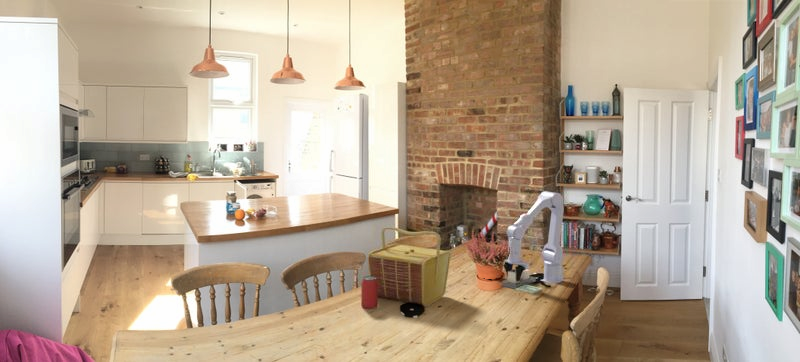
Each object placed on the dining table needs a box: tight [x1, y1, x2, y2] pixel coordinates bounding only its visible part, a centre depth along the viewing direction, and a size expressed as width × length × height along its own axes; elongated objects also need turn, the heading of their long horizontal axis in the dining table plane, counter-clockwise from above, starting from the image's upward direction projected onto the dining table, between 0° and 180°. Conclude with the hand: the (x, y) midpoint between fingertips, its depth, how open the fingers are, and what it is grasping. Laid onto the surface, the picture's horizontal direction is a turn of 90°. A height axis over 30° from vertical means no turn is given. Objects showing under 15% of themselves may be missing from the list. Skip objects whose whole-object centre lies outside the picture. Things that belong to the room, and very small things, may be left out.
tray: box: [515, 284, 543, 295], centre depth 239 cm, size 8×8×1 cm
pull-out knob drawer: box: [521, 268, 531, 280], centre depth 251 cm, size 4×4×7 cm
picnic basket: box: [367, 226, 451, 307], centre depth 226 cm, size 29×26×30 cm
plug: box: [507, 268, 520, 284], centre depth 245 cm, size 4×4×7 cm
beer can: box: [360, 275, 378, 310], centre depth 214 cm, size 7×7×12 cm
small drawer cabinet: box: [501, 275, 537, 290], centre depth 248 cm, size 18×8×3 cm, turn 137°
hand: (513, 279), depth 245 cm, fingers closed on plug, 4 cm apart
